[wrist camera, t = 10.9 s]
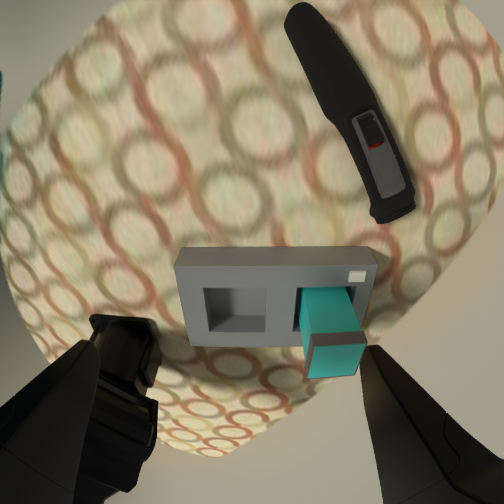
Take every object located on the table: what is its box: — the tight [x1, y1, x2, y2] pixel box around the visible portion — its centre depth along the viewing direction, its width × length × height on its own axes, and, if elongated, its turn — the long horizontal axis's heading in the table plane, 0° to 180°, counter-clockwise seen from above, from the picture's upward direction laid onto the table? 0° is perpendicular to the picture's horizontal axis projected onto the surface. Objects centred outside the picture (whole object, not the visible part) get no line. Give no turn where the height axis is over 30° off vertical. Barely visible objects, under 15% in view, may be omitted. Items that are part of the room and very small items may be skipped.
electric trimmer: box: [284, 2, 416, 224], centre depth 16 cm, size 4×16×3 cm, turn 30°
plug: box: [297, 286, 368, 379], centre depth 20 cm, size 3×3×7 cm
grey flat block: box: [174, 247, 378, 347], centre depth 23 cm, size 14×8×3 cm, turn 91°
